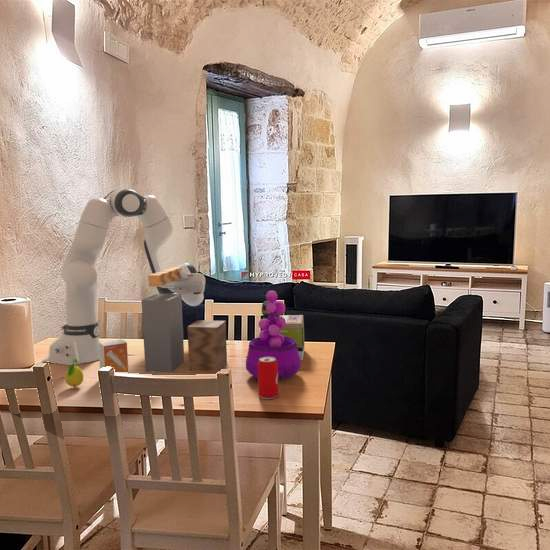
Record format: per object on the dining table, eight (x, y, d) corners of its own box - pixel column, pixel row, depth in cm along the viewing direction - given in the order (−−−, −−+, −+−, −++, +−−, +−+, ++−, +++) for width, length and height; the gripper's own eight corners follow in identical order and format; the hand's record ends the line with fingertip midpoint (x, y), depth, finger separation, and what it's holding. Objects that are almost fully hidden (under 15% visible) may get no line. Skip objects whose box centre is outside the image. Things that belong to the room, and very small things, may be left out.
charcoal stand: (159, 360, 206) (156, 293, 203) (184, 361, 204) (181, 294, 201) (145, 371, 193) (141, 300, 190) (171, 372, 192) (168, 300, 188)
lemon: (79, 383, 182) (77, 354, 180) (89, 386, 178) (87, 357, 177) (60, 388, 177) (58, 359, 175) (70, 392, 173) (68, 362, 172)
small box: (105, 383, 181) (103, 346, 179) (100, 378, 186) (98, 342, 184) (129, 379, 185) (127, 342, 183) (123, 374, 190) (121, 338, 189)
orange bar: (171, 277, 210) (171, 267, 209) (181, 277, 209) (181, 267, 209) (148, 286, 189) (148, 275, 188) (159, 286, 188) (158, 275, 187)
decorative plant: (264, 365, 197) (263, 285, 193) (310, 373, 188) (309, 288, 184) (235, 380, 181) (232, 292, 177) (283, 389, 172) (281, 296, 168)
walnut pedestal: (189, 370, 193) (187, 326, 191) (199, 361, 204) (197, 320, 202) (218, 371, 191) (217, 327, 189) (227, 362, 202) (225, 320, 200)
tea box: (280, 350, 218) (279, 314, 216) (304, 350, 217) (304, 314, 215) (276, 360, 203) (275, 322, 201) (303, 361, 202) (302, 322, 200)
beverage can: (281, 394, 167) (280, 356, 166) (274, 401, 161) (273, 362, 160) (262, 392, 169) (261, 355, 168) (255, 399, 164) (254, 360, 162)
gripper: (161, 278, 221) (148, 265, 209) (209, 278, 218) (199, 265, 205) (159, 292, 219) (146, 280, 206) (207, 293, 215) (196, 280, 203)
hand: (172, 272), depth 206 cm, fingers closed on orange bar, 4 cm apart
